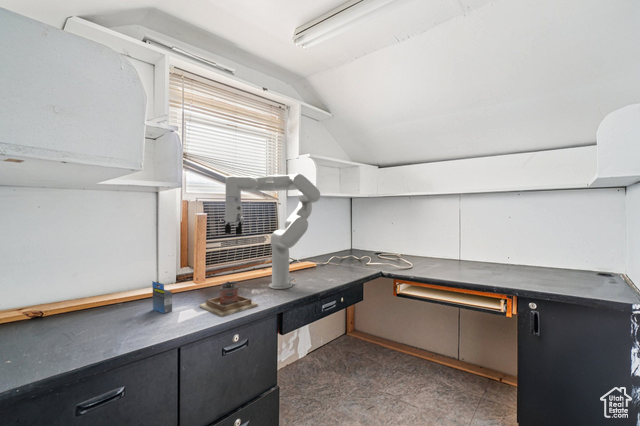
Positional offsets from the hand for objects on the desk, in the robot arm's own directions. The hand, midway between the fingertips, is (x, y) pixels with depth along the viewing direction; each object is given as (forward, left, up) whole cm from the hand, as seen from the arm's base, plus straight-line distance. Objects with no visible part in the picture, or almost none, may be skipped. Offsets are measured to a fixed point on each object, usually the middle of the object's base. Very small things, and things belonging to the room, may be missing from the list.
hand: (233, 233), depth 156 cm
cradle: (+13, +17, -30) cm, 37 cm away
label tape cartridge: (+35, +1, -31) cm, 46 cm away
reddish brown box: (+13, +17, -30) cm, 36 cm away
